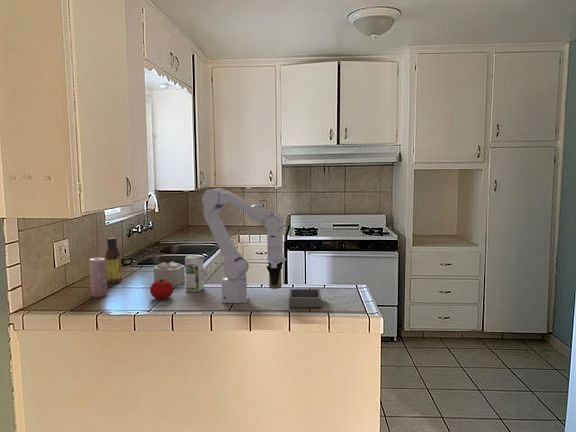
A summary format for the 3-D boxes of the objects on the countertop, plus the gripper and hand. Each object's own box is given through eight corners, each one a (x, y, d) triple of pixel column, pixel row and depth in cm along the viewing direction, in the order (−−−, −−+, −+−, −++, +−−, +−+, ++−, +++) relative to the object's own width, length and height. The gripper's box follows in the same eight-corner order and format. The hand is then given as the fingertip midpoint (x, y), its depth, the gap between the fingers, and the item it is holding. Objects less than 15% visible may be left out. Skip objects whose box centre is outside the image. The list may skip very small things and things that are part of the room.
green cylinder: (268, 288, 160) (268, 272, 159) (269, 285, 164) (269, 269, 164) (281, 288, 159) (281, 272, 159) (281, 285, 164) (281, 269, 163)
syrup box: (185, 291, 180) (184, 257, 178) (192, 287, 185) (191, 254, 184) (197, 292, 178) (196, 257, 176) (204, 288, 184) (203, 254, 182)
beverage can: (102, 292, 179) (99, 256, 177) (110, 294, 176) (108, 258, 174) (88, 295, 174) (86, 259, 173) (96, 298, 171) (94, 261, 169)
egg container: (176, 286, 188) (176, 266, 187) (149, 284, 190) (148, 265, 189) (186, 280, 198) (186, 261, 197) (160, 278, 200) (159, 260, 199)
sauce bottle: (123, 282, 195) (121, 238, 193) (108, 284, 191) (106, 239, 189) (119, 279, 200) (117, 236, 198) (105, 281, 197) (103, 238, 195)
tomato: (145, 300, 168) (144, 280, 167) (160, 294, 176) (159, 275, 175) (164, 303, 164) (163, 282, 163) (178, 296, 172) (177, 276, 172)
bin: (288, 308, 157) (288, 298, 156) (289, 298, 168) (289, 288, 168) (321, 308, 156) (321, 298, 156) (319, 299, 168) (319, 289, 167)
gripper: (284, 250, 153) (285, 288, 154) (286, 243, 167) (286, 277, 169) (265, 250, 153) (265, 288, 155) (268, 243, 167) (268, 277, 169)
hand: (275, 282), depth 162 cm, fingers closed on green cylinder, 5 cm apart
